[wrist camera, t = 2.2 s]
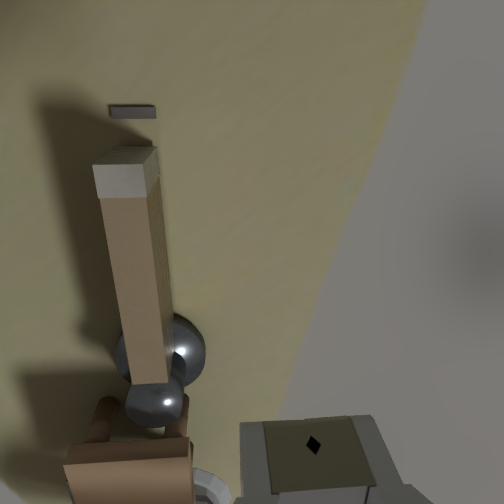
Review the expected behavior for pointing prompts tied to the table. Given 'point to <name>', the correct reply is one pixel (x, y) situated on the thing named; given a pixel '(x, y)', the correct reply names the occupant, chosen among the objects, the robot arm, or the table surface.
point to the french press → (210, 488)
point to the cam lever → (145, 289)
